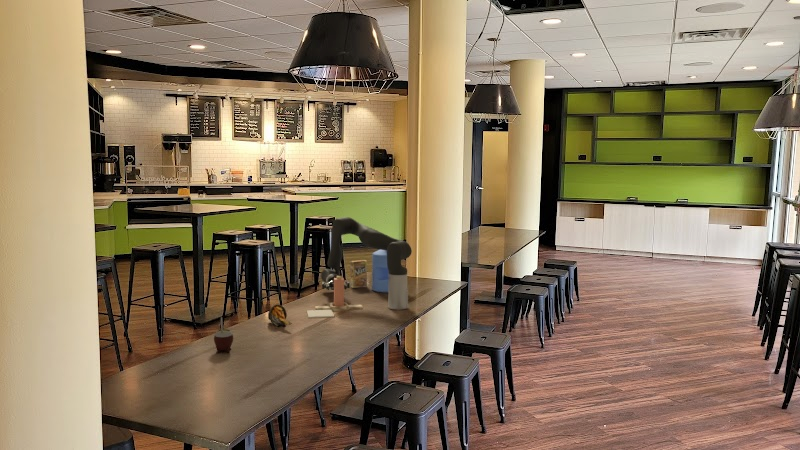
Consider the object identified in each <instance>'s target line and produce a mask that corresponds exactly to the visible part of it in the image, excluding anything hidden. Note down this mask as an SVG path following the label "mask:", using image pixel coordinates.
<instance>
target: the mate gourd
mask: <svg viewBox="0 0 800 450" xmlns="http://www.w3.org/2000/svg"><path fill="white" fill-rule="evenodd" d="M223 323H224V322H223V317H222V316H220V329H218V330H217V331H216V332H215V333H214V337H213V342H214V344H215V349H216V354H221V353H225V354H230V351H231V350H232V348H231V347H232V344H233V342H234V334H233V332H232V331H231V330H230V329H228V328H226V329H225V328H224V327H223Z"/></svg>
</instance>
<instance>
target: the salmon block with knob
mask: <svg viewBox="0 0 800 450" xmlns="http://www.w3.org/2000/svg"><path fill="white" fill-rule="evenodd" d="M344 283H345V279H344V277H342V276H341V275H340V276H337V278H334V290H333V303H334V306H344V302H345V289H344Z"/></svg>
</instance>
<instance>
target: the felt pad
mask: <svg viewBox="0 0 800 450" xmlns="http://www.w3.org/2000/svg"><path fill="white" fill-rule="evenodd" d="M306 313H307V318H308V319H315V318H318V319H319V318H335V314H334V311H332V310H316V309H314V310H313V309H311V310H310V309H307V310H306Z"/></svg>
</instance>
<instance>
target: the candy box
mask: <svg viewBox="0 0 800 450" xmlns="http://www.w3.org/2000/svg"><path fill="white" fill-rule="evenodd" d="M349 263H350V264H349V265H350V270H349V271H350V288H352V289H357V288H367V287H368V261H367V260H366V259H359V260H358V259H357V260H350V261H349Z"/></svg>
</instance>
